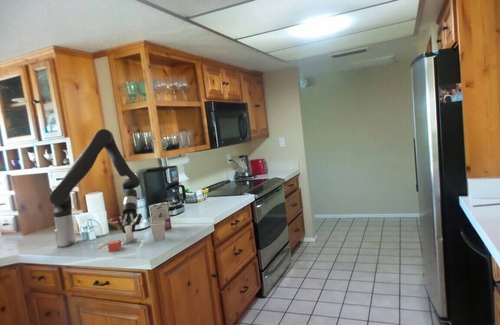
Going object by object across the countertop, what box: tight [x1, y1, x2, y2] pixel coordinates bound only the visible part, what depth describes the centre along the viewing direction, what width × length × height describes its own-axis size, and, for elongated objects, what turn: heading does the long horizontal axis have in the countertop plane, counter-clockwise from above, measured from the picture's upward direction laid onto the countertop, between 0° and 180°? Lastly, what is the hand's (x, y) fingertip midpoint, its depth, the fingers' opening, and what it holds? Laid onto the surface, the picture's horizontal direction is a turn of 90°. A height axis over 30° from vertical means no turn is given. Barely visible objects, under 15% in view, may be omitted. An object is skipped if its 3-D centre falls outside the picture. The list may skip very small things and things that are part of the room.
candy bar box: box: [148, 201, 172, 231], centre depth 207 cm, size 11×5×16 cm, turn 117°
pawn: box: [124, 224, 135, 241], centre depth 184 cm, size 4×4×8 cm
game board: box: [94, 237, 139, 251], centre depth 184 cm, size 21×12×1 cm, turn 99°
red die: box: [108, 239, 122, 252], centre depth 174 cm, size 5×5×5 cm
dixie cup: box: [149, 220, 166, 242], centre depth 187 cm, size 8×8×10 cm
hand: (128, 231), depth 183 cm, fingers closed on pawn, 4 cm apart
